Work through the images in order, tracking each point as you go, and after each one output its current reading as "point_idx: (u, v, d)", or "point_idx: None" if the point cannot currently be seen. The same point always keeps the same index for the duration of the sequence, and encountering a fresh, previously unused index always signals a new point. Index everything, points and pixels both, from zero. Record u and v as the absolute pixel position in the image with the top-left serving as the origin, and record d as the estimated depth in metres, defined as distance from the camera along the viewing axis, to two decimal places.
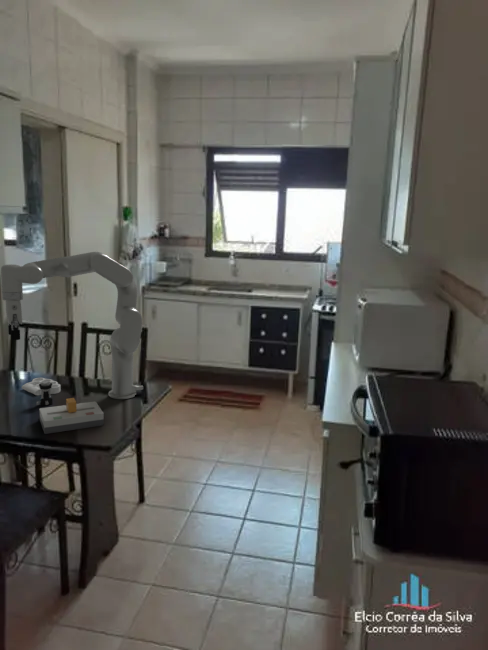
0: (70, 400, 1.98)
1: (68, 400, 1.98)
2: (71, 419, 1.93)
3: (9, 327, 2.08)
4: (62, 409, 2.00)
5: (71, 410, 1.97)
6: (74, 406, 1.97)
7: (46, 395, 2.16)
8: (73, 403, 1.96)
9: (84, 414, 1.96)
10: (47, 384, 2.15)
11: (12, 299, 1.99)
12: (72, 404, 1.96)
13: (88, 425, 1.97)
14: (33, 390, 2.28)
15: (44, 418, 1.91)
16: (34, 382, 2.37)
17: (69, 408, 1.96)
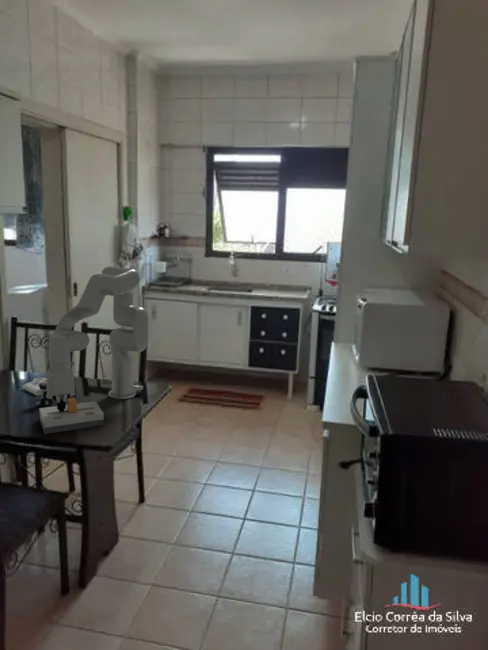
0: (71, 400, 1.98)
1: (69, 400, 1.98)
2: (71, 419, 1.93)
3: (61, 404, 1.96)
4: None
5: (72, 410, 1.97)
6: (75, 406, 1.97)
7: None
8: (73, 403, 1.96)
9: (84, 414, 1.96)
10: None
11: (70, 367, 1.95)
12: (73, 404, 1.97)
13: (88, 425, 1.97)
14: (33, 390, 2.28)
15: (44, 418, 1.91)
16: (35, 382, 2.37)
17: (70, 408, 1.96)
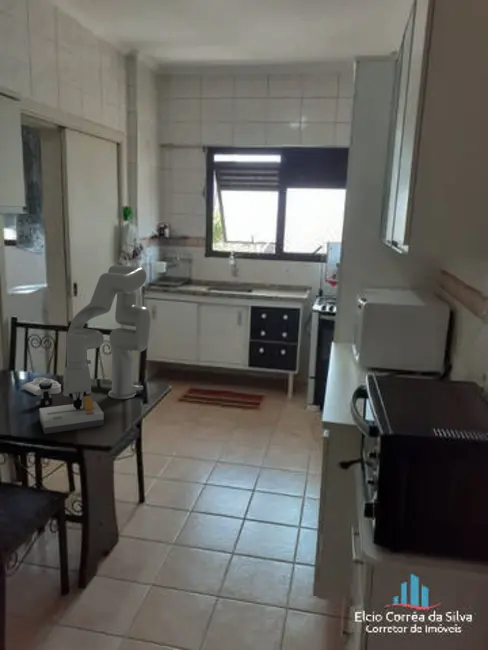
0: (87, 398, 2.01)
1: (85, 398, 2.01)
2: (71, 419, 1.93)
3: None
4: (62, 409, 2.00)
5: (88, 408, 2.00)
6: (91, 404, 2.00)
7: (46, 395, 2.16)
8: (89, 401, 1.99)
9: (84, 414, 1.96)
10: (47, 384, 2.15)
11: (87, 365, 1.98)
12: (89, 402, 1.99)
13: (88, 425, 1.97)
14: (33, 390, 2.28)
15: (44, 418, 1.91)
16: (35, 382, 2.37)
17: (86, 406, 1.99)
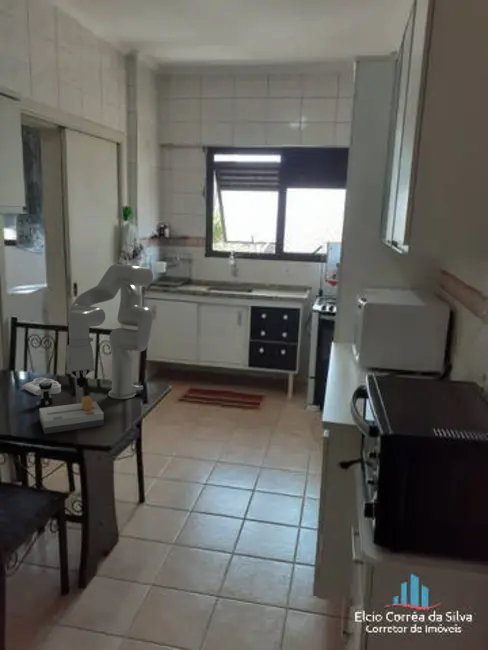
0: (86, 398, 2.01)
1: (84, 398, 2.01)
2: (71, 419, 1.93)
3: (81, 379, 1.98)
4: (62, 409, 2.00)
5: (87, 408, 2.00)
6: (90, 404, 2.00)
7: (46, 395, 2.16)
8: (88, 401, 1.99)
9: (84, 414, 1.96)
10: (47, 384, 2.15)
11: (89, 343, 1.97)
12: (88, 402, 1.99)
13: (88, 425, 1.97)
14: (33, 390, 2.28)
15: (44, 418, 1.91)
16: (35, 382, 2.37)
17: (85, 406, 1.99)
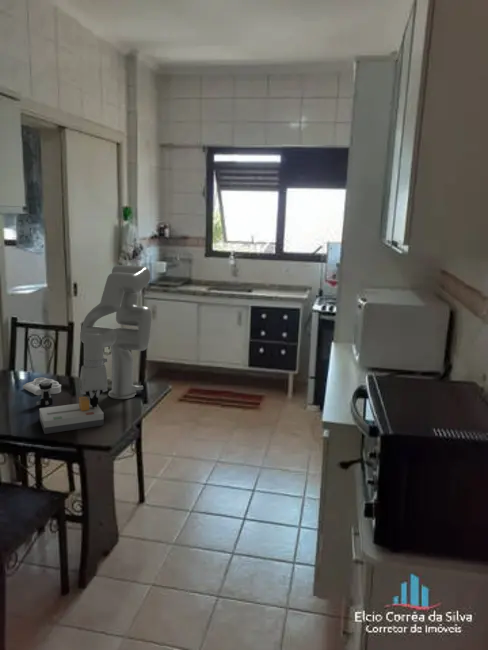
0: (83, 398, 2.00)
1: (81, 398, 2.00)
2: (71, 419, 1.93)
3: None
4: (62, 409, 2.00)
5: (84, 408, 1.99)
6: (87, 404, 1.99)
7: (46, 395, 2.16)
8: (85, 401, 1.99)
9: (84, 414, 1.96)
10: (47, 384, 2.15)
11: None
12: (85, 403, 1.99)
13: (88, 425, 1.97)
14: (33, 390, 2.28)
15: (44, 418, 1.91)
16: (35, 382, 2.37)
17: (82, 406, 1.98)
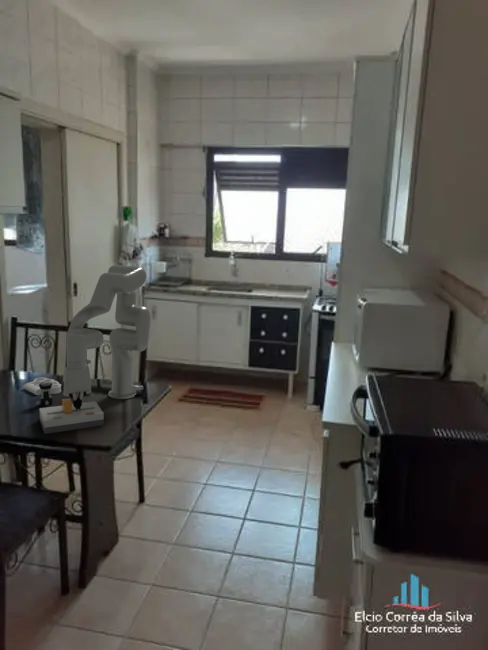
0: (66, 400, 1.97)
1: (64, 400, 1.97)
2: (71, 419, 1.93)
3: None
4: (62, 409, 2.00)
5: (67, 411, 1.96)
6: (70, 407, 1.96)
7: (46, 395, 2.16)
8: (68, 403, 1.96)
9: (84, 414, 1.96)
10: (47, 384, 2.15)
11: (86, 365, 1.98)
12: (68, 405, 1.96)
13: (88, 425, 1.97)
14: (33, 390, 2.28)
15: (44, 418, 1.91)
16: (35, 382, 2.37)
17: (65, 409, 1.95)
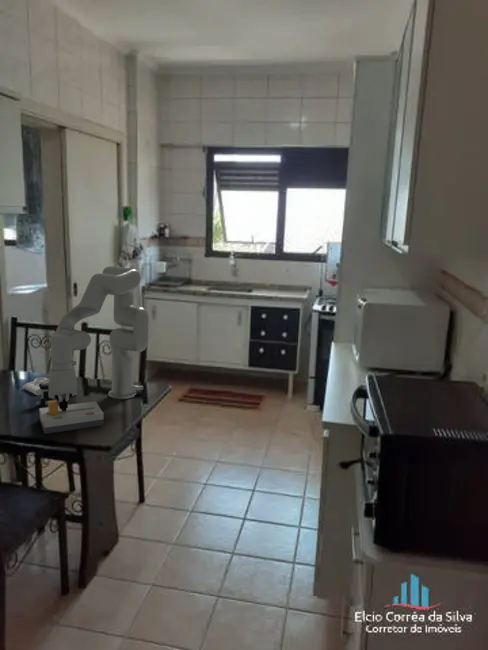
0: (52, 402, 1.95)
1: (50, 402, 1.95)
2: (71, 419, 1.93)
3: None
4: None
5: (53, 412, 1.93)
6: (56, 408, 1.94)
7: (46, 395, 2.16)
8: (54, 405, 1.93)
9: (84, 414, 1.96)
10: (47, 384, 2.15)
11: (72, 367, 1.95)
12: (54, 407, 1.93)
13: (88, 425, 1.97)
14: (33, 390, 2.28)
15: (44, 418, 1.91)
16: (36, 382, 2.37)
17: (51, 410, 1.93)
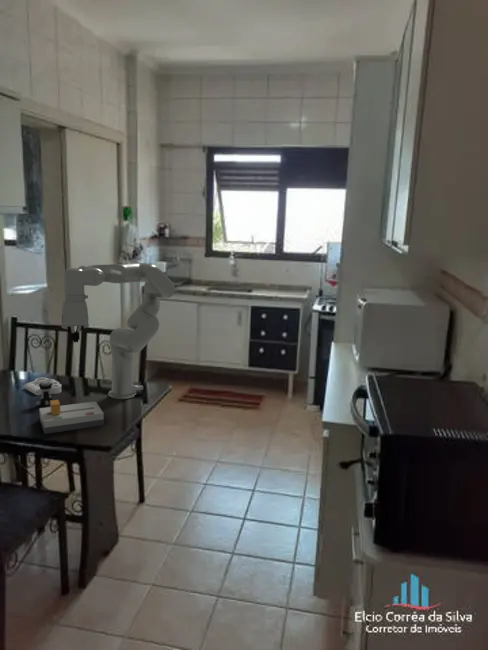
0: (54, 402, 1.95)
1: (52, 402, 1.95)
2: (71, 419, 1.93)
3: None
4: (62, 409, 2.00)
5: (55, 412, 1.94)
6: (58, 408, 1.94)
7: (46, 395, 2.16)
8: (56, 405, 1.93)
9: (84, 414, 1.96)
10: (47, 384, 2.15)
11: (84, 300, 2.08)
12: (56, 406, 1.94)
13: (88, 425, 1.97)
14: (33, 390, 2.28)
15: (44, 418, 1.91)
16: (36, 382, 2.37)
17: (53, 410, 1.93)
